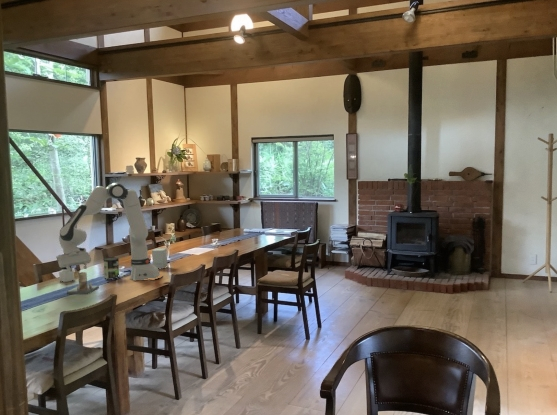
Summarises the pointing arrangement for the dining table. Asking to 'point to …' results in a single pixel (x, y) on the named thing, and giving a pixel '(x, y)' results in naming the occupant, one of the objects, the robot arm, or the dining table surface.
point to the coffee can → (111, 267)
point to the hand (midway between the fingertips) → (78, 269)
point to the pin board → (82, 291)
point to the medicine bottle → (66, 275)
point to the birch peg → (82, 280)
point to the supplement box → (159, 258)
